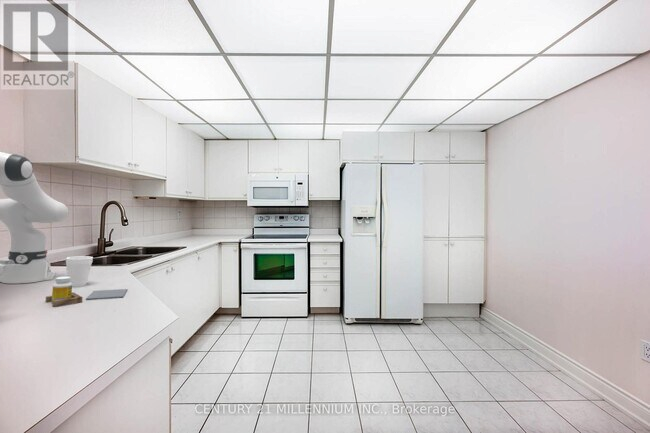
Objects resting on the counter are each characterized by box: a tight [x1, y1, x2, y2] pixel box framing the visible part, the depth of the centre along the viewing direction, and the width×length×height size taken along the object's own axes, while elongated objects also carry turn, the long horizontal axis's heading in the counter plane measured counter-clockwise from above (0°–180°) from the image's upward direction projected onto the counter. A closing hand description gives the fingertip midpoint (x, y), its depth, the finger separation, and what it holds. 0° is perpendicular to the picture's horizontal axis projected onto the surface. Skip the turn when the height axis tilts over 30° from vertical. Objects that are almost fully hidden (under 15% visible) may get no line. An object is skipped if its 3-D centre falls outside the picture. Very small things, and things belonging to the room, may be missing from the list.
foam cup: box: [65, 255, 94, 288], centre depth 125 cm, size 10×9×13 cm
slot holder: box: [45, 291, 83, 308], centre depth 102 cm, size 8×10×2 cm
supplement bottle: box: [51, 276, 73, 305], centre depth 102 cm, size 5×5×10 cm
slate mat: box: [85, 288, 128, 301], centre depth 114 cm, size 12×12×1 cm
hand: (17, 264), depth 91 cm, fingers open, 8 cm apart
